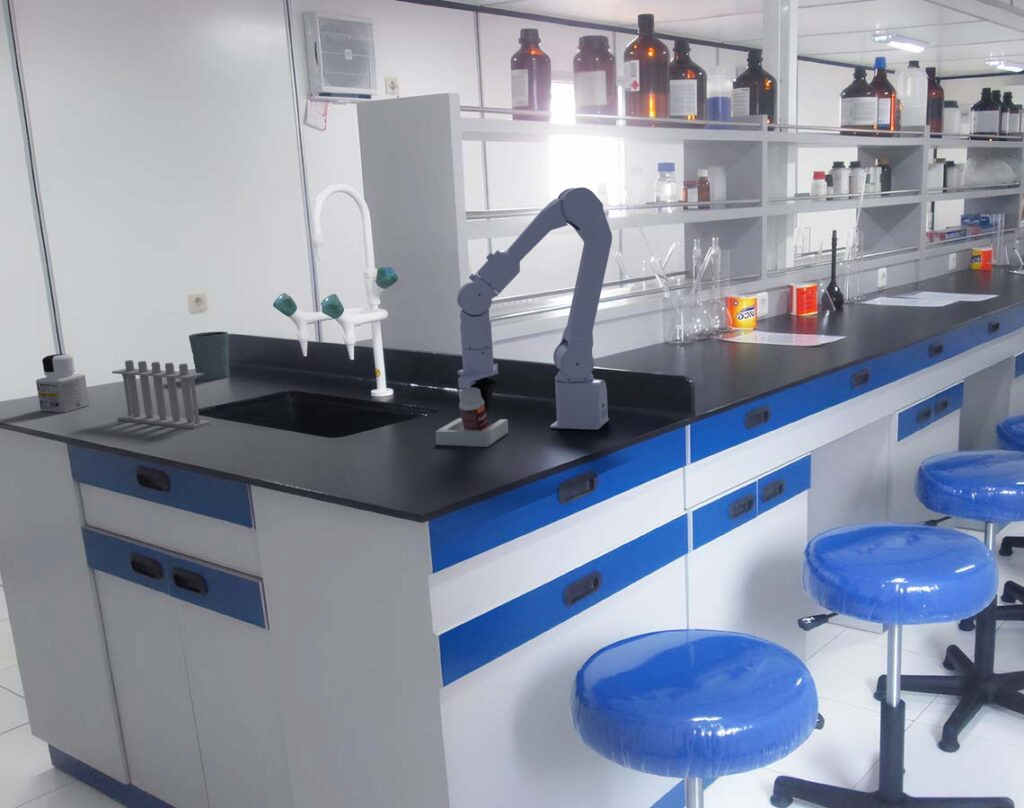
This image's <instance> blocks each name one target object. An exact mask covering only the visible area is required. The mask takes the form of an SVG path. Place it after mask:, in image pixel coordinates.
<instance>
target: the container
mask: <svg viewBox="0 0 1024 808" xmlns="http://www.w3.org/2000/svg"><path fill="white" fill-rule="evenodd" d="M73 357H74V356H72V354H70V353H69V354H68V353H59V354H51V355H47V356H45V357H43V358H42V361H41V362H42V369H43V373H44V376H45V377H41V378H37V379H36V380H35V383H36V390H37V396H38V402H39V408H40V412H42V411H54V412H53V413H64V412H65V413H67V412H71V410H72V411H75V409H76V410H79V409H82V408H85V407H89V406H90V400H89V394H88V393H89V392H88V387H87V381H86V374H81V373H75V372H76V370H75V364H74V358H73Z"/></svg>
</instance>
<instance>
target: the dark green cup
mask: <svg viewBox="0 0 1024 808" xmlns="http://www.w3.org/2000/svg"><path fill="white" fill-rule="evenodd" d="M188 339H189V345H190V349H191V353H192V358H193V364H194V370H195V373H204V375H203V376H199V377H196V380H197V381H206V382H207V381H217V380H222V379H223V380H224V379H227V378H229V377H230V363H229V362H230V361H229V360H230V358H229V357H230V355H229V332H227V331H210V332H209V331H208V332H207V331H206V332H200V333H198V332H197V333H193V334H190V335H188Z"/></svg>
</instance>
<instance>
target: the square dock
mask: <svg viewBox="0 0 1024 808" xmlns="http://www.w3.org/2000/svg"><path fill="white" fill-rule="evenodd" d="M508 421H509V419H503V418H502V419H501V418H500V419H498V420H497V421H495V422H494V423H492V424H489V427H487V428H486V429H484V430H483V431H470V430H464V427H463V422H462V418H461V417H458V418H456V419H454V420H453V421H451V422H449V423H448V424H446V425H444V426H443V427H440V428H438V429H437V430H436V431H435V443H436V444H435V445H436V446H456V447H457V446H458V447H461V446H462V447H477V448H478V447H484V448H487V447H490V446H491V445H492V444H494V443H495V442H497V441H498V440H500V439H501V438H503V437H504V436H505V435H507V434H508V433H509V422H508Z"/></svg>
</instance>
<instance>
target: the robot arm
mask: <svg viewBox="0 0 1024 808" xmlns="http://www.w3.org/2000/svg"><path fill="white" fill-rule="evenodd" d="M568 225H569V226H571V227H572V228H573V229H574V231H576V233H577V234H578V236H579V238H581V240H582V242H583V248H582V252H581V257H580V262H579V266H578V271H577V276H576V280H575V285H574V286H575V287H574V291H573V294H572V300H571V304H570V308H569V313H568V320H567V323H566V326H565V328H564V330H563V334H562V337H561V341H560V342H559V343H558V345H557V346H556V347H555V349H554V351H553V356H552V357H553V363H554V365H555V366H556V368H557V369H558V372H557V374H556V375H555V376H554V384H555V385H554V386H555V406H556V421H555V422H553V423H552V424H551V425H549V428H550V429H562V430H564V429H568V430H570V429H571V430H593V431H594V430H595V431H596V430H597V431H598V430H599V429H601V428H602V427H604V425H605V424H606V423H608V421H609V420H610V418H609V416H608V415H609V413H608V411H609V410H608V390H607V389H608V388H607V384H606V381H605V380H604V379H597V378H594V374H593V373H592V372H593V370H594V368H595V367H594V366H595V361H594V360H595V359H594V356H593V347H594V337H593V336H594V335H593V334H594V333H593V332H594V331H593V330H594V326H595V321H596V318H597V313H598V309H599V303H600V299H601V293H602V289H603V284H604V279H605V274H606V271H607V266H608V261H609V256H610V252H611V247H612V244H613V233H612V230H611V228H610V225H609V222H608V219H607V216H606V214H605V210H604V203H603V202H602V201H601V200H600V199H599V198H598V196H596V194H595V193H594V192H593V191H592V190H591V189H589V188H587V187H583V186H582V187H581V186H579V187H570V188H566V189H564V190H563V191H562V192H560V193H559V195H558V197H557V198H553V200H552V201H550V202H549V203H548V204H547V205H545V207H543V209H541V211H540V212H539V213H538V214H537V215H535V217H534V218H533V220H532V221H531V222H530V223H529V224H528V225H527V227H525V228H524V230H523V231H522V232H521V233H520V234H519V236H518V237H517V238H516V239H515V241H513V242H512V244H511V245H510V246H509V247H508V248H507V249H498V250H495V252H494V253H492V252H489V253H488V254H487V255H486V259H487V261H485V263H484V264H483V265H482V266H481V267H480V268H479V269H478V270H477V271H476V273H475V274H473V273H471V274H470V275H469V276H468V278H469V279H470V280H471V281H470V282H467V283H465V284H462V286H461V288H460V289H459V291H458V294H457V297H456V302H457V304H458V306H459V307H460V308H461V309H460V313H459V319H460V321H461V322H460V324H459V327H460V340H461V341H460V342H461V343H460V345H461V356H462V369H460V370H457V376H458V375H459V377H458V378H457V379H458V380H457V381H458V382H457V383H458V389H462V390H463V389H469V388H470V387H475V388H478V389H480V392H481V398H483V400H484V402H485V407H486V412H487V418H488V417H489V411H490V406H491V405H490V404H491V401H492V396H493V392H494V390H495V388H496V386H497V379H491V378H489V377H492V376H495V375H498V374H499V364H498V363H494V351H493V337H492V335H493V333H492V322H491V321H490V309H491V307H492V302H493V298H495V297H498V296H499V295H501V293H502V292H503V291H504V290H505V288H506V287H508V286H509V284H510V283H511V282H512V281H513V280H514V279H515V278H516V277H517V276H518V274H520V272H521V261H522V260H523V259H524V258H525V257H526V256H527V255H528V254H529V253H530V252H531V251H532V250H533V249H534V248H535V247H536V246H537V245H538V244H540V242H541V241H542V240H543V239H544V238H545V237H546V236H547V235H548V233H550V232H551V231H554V230H556V229H561V228H563V227H564V228H565V227H567V226H568Z"/></svg>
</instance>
